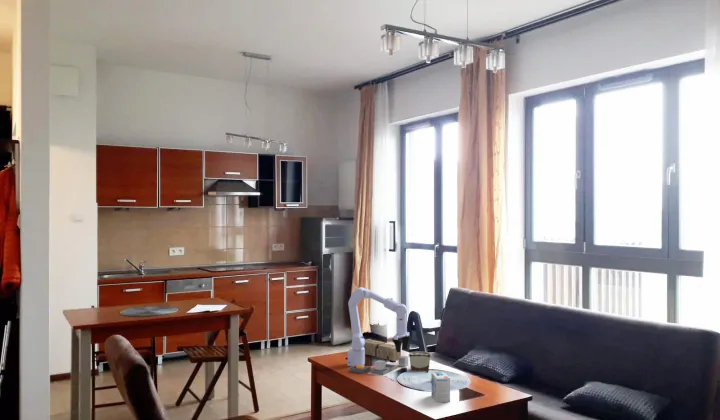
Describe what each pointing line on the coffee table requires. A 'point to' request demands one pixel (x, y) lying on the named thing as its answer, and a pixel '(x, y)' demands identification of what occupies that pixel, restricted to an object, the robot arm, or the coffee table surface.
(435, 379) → the light bulb box
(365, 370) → the button housing
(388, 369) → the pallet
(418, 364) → the food container
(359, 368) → the button
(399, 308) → the robot arm
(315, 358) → the coffee table surface
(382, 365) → the seated billet
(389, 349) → the block tower
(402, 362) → the billet
